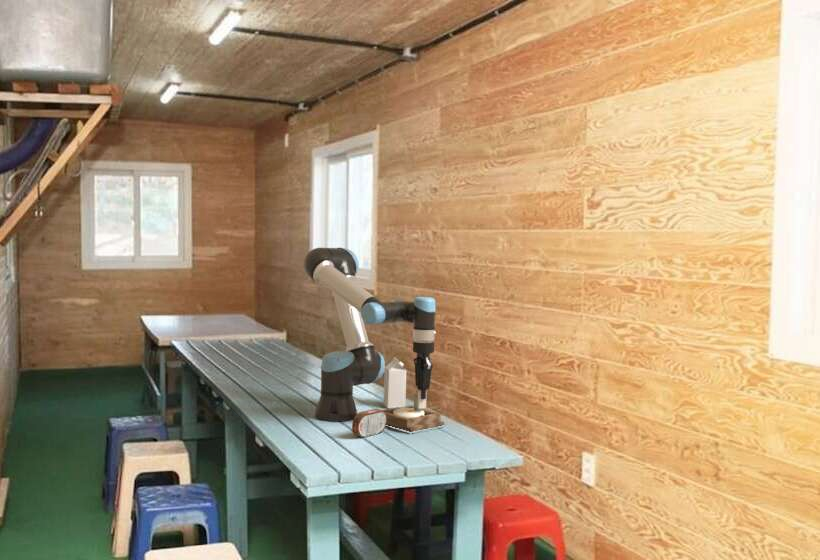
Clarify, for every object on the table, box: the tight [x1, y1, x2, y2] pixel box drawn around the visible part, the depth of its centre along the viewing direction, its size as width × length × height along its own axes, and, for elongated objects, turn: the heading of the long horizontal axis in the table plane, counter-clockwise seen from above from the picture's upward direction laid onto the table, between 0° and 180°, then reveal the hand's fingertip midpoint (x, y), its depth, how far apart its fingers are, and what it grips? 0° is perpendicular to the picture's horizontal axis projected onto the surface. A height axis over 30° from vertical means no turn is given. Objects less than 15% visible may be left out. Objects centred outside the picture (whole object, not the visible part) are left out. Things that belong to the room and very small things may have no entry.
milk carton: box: [383, 356, 407, 409], centre depth 298 cm, size 7×7×19 cm
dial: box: [393, 392, 424, 418], centre depth 270 cm, size 11×11×8 cm
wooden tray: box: [381, 405, 445, 432], centre depth 270 cm, size 16×20×5 cm
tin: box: [351, 408, 387, 438], centre depth 254 cm, size 15×3×8 cm, turn 141°
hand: (421, 407), depth 269 cm, fingers closed
